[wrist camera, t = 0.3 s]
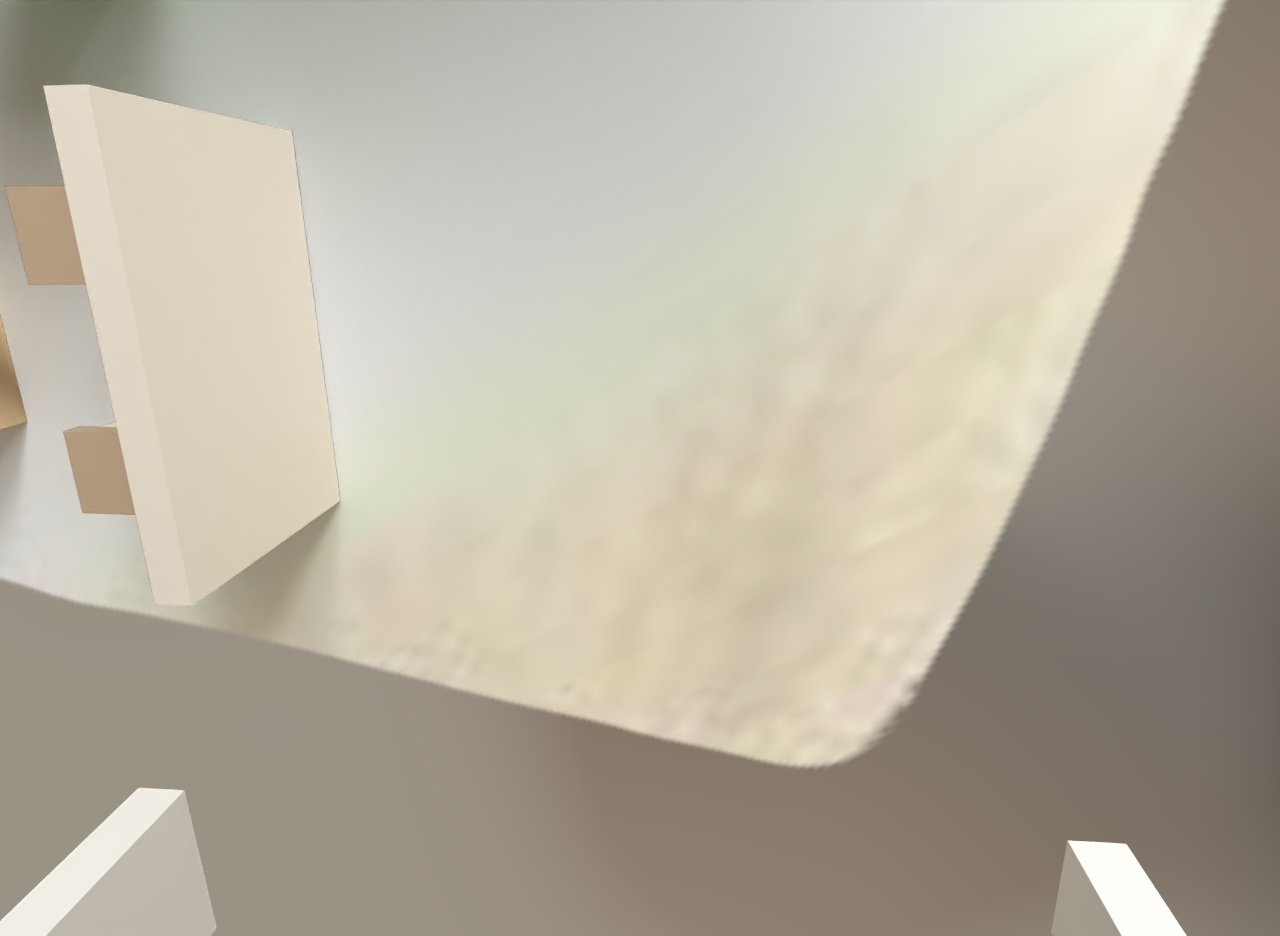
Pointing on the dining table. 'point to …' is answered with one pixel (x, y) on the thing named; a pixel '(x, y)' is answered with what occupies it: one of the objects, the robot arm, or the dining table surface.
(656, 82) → the dining table surface
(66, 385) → the dining table surface
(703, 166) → the dining table surface
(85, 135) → the headboard
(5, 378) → the block
